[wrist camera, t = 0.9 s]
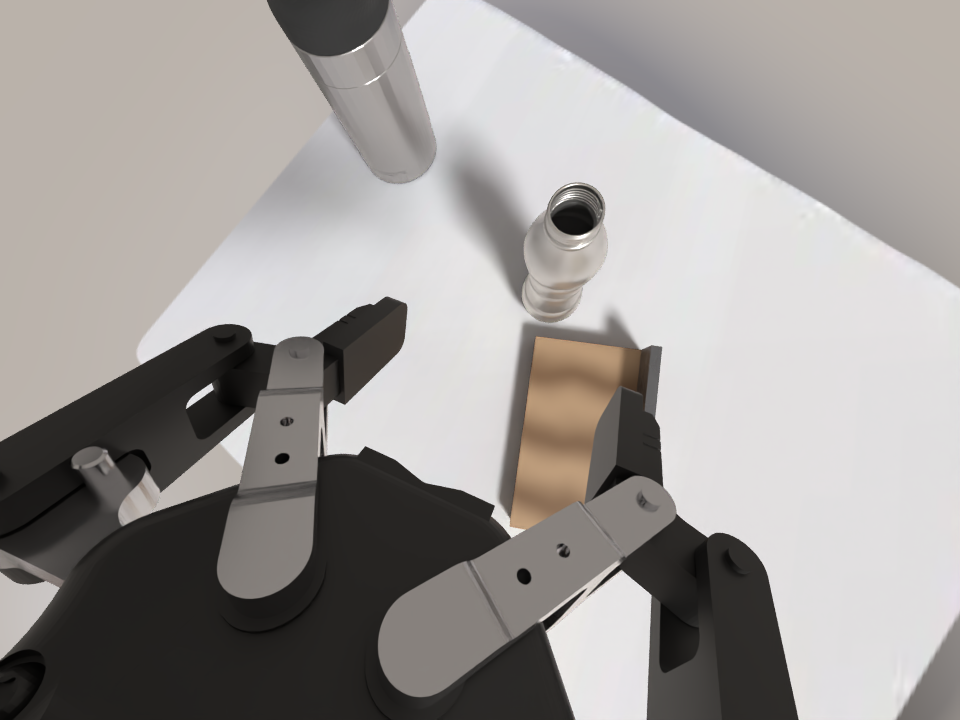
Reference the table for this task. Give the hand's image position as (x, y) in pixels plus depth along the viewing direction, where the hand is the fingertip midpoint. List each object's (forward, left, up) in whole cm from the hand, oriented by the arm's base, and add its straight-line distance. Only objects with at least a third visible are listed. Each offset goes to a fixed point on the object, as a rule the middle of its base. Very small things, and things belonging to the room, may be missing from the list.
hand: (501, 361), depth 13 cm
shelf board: (+4, +8, -29) cm, 30 cm away
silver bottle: (-11, +3, -29) cm, 31 cm away
